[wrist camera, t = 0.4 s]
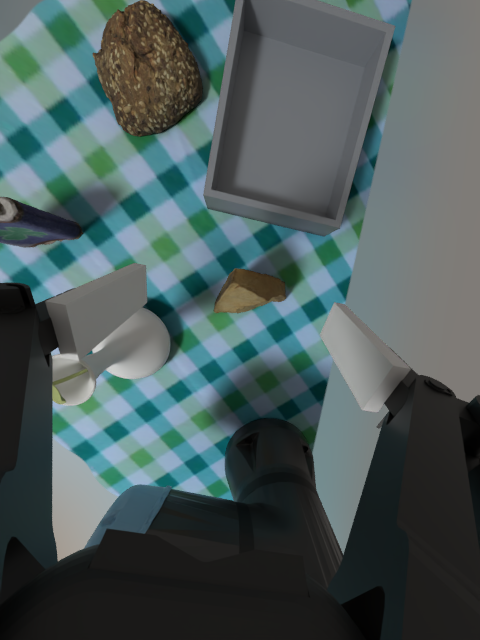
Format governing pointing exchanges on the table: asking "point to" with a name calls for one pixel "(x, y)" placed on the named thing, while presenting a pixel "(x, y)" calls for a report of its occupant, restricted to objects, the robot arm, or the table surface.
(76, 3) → the table surface
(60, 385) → the flower in vase
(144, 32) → the bread roll
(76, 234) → the flask
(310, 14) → the bin
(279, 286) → the rock
